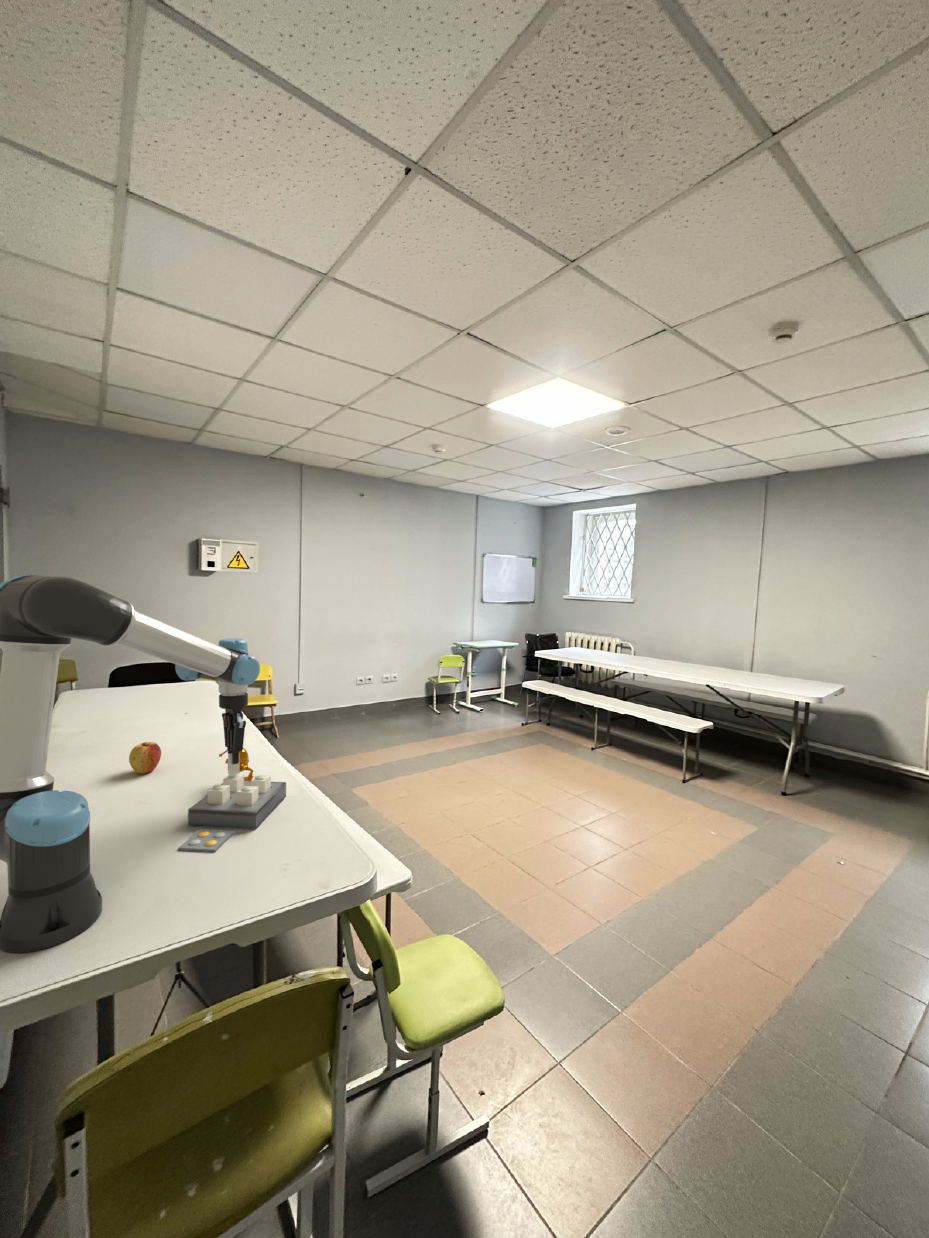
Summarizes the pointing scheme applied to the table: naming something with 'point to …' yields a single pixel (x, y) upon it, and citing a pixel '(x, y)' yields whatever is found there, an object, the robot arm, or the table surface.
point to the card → (206, 840)
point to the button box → (237, 810)
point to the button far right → (262, 783)
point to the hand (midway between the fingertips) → (233, 773)
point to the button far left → (234, 782)
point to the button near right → (247, 796)
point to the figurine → (243, 763)
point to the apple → (145, 757)
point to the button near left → (219, 794)
